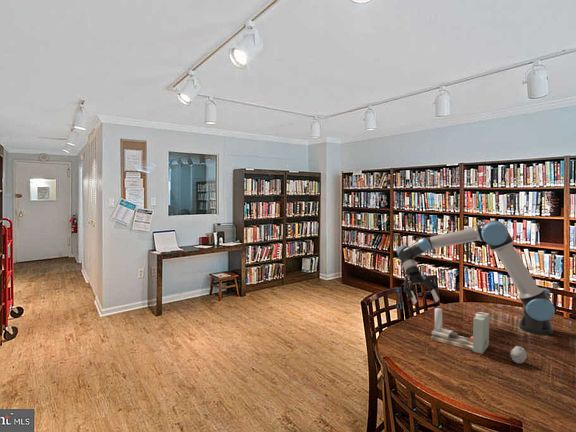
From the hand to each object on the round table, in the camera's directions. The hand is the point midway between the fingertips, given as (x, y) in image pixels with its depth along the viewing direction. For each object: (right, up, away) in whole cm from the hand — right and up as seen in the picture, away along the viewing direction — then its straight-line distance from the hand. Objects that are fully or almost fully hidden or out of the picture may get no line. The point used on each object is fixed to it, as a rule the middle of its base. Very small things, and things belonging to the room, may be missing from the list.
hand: (426, 301), depth 189 cm
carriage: (+5, -14, -11) cm, 19 cm away
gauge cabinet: (+17, -17, -22) cm, 33 cm away
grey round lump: (+26, -18, -37) cm, 48 cm away
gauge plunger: (+15, -15, -21) cm, 30 cm away
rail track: (+8, -17, -14) cm, 23 cm away
